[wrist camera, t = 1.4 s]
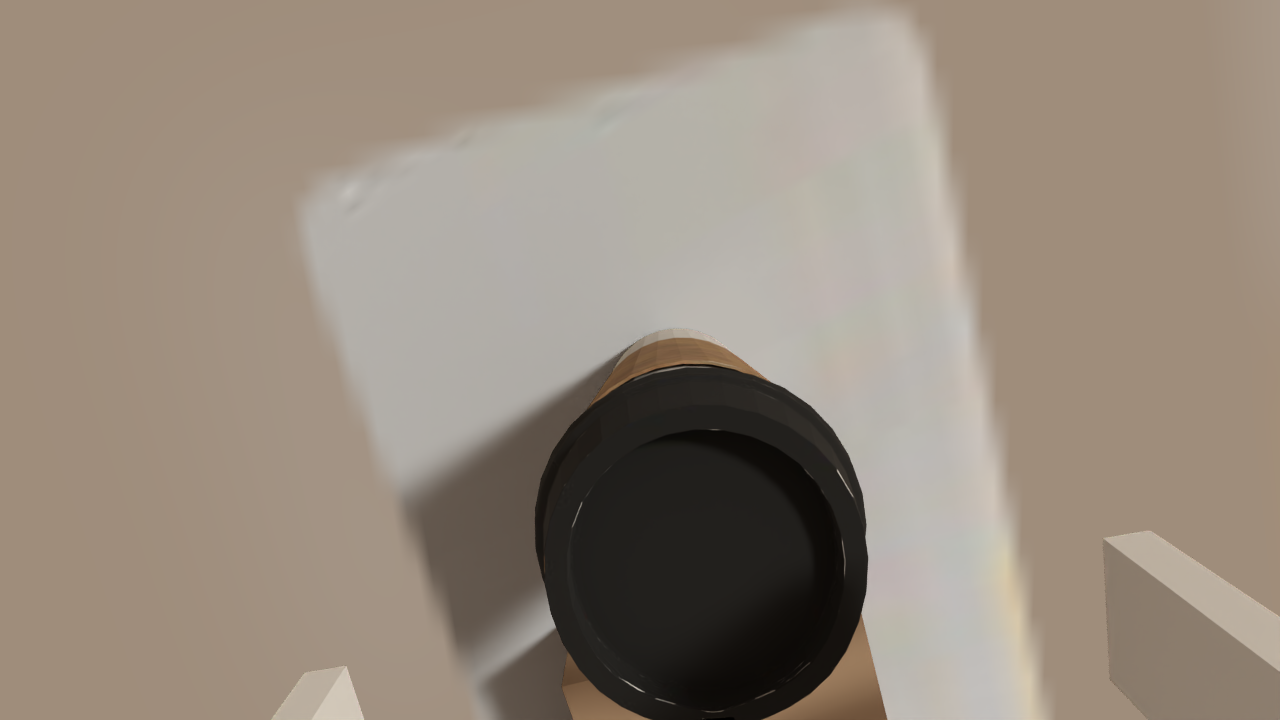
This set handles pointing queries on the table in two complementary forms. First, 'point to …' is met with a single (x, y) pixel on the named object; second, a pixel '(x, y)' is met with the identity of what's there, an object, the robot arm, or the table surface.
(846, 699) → the walnut block
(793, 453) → the coffee cup
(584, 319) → the table surface
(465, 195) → the table surface
